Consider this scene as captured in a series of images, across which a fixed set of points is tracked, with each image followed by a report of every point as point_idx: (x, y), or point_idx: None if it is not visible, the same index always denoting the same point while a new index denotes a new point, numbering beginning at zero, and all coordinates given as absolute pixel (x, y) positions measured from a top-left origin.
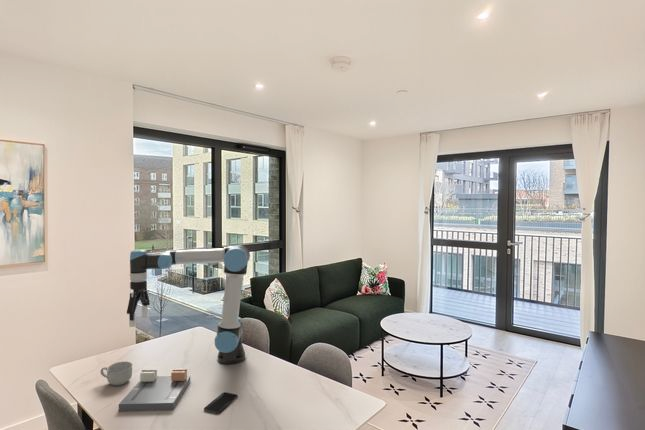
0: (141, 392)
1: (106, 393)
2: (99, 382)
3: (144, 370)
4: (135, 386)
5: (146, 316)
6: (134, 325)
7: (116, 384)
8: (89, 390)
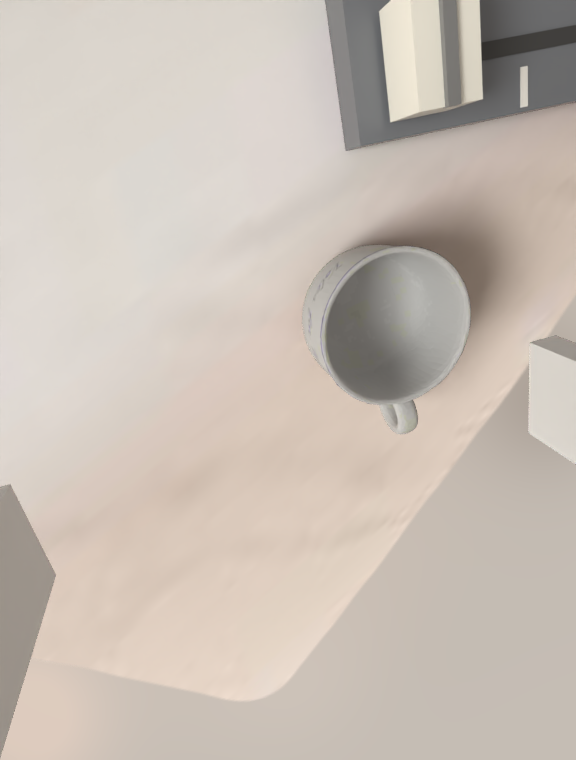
0: (562, 12)
1: (471, 289)
2: (367, 412)
3: (458, 80)
4: (490, 113)
5: (1, 517)
6: (574, 351)
7: (412, 290)
8: (445, 395)
